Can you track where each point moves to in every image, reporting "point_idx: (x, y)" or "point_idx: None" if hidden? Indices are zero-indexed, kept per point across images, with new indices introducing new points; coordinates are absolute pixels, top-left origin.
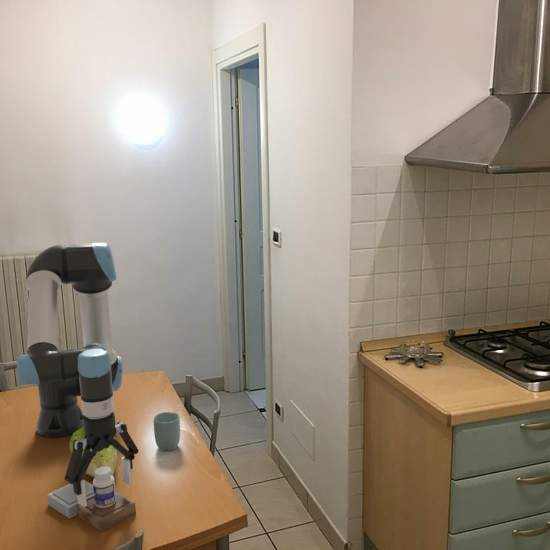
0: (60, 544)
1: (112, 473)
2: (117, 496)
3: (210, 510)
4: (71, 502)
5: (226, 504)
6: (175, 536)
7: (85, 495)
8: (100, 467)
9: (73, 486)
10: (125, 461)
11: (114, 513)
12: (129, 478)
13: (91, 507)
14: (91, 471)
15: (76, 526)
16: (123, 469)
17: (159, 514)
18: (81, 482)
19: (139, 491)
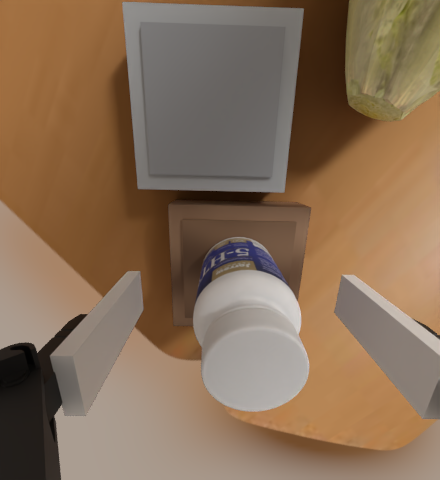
0: (79, 269)
1: (398, 120)
2: (285, 269)
3: (380, 411)
4: (159, 172)
5: (415, 419)
6: (269, 419)
7: (123, 342)
8: (274, 333)
9: (45, 348)
10: (420, 392)
11: None
12: (351, 330)
13: (190, 257)
14: (362, 15)
15: (146, 235)
16: (379, 320)
17: (311, 349)
18: (64, 412)
19: (372, 231)
